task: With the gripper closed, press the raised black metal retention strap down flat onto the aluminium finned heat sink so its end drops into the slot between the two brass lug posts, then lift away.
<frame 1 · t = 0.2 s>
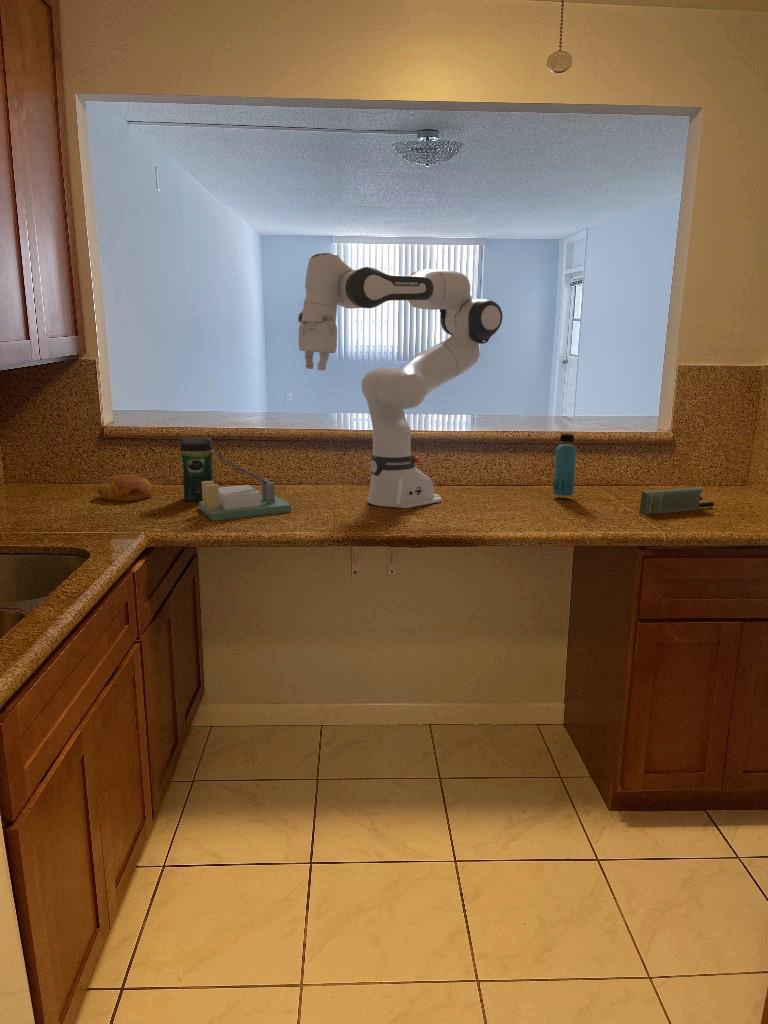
hand: (315, 369, 186), 39 cm above the countertop, fingers open, 8 cm apart
croissant: (127, 498, 209), on the countertop
retention strap: (243, 470, 192), point 11 cm above the countertop, hinge at 32.0°
beverage bottle: (562, 499, 213), on the countertop
coffee jar: (200, 499, 208), on the countertop
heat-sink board: (244, 510, 195), on the countertop
handheld radio: (677, 511, 200), on the countertop
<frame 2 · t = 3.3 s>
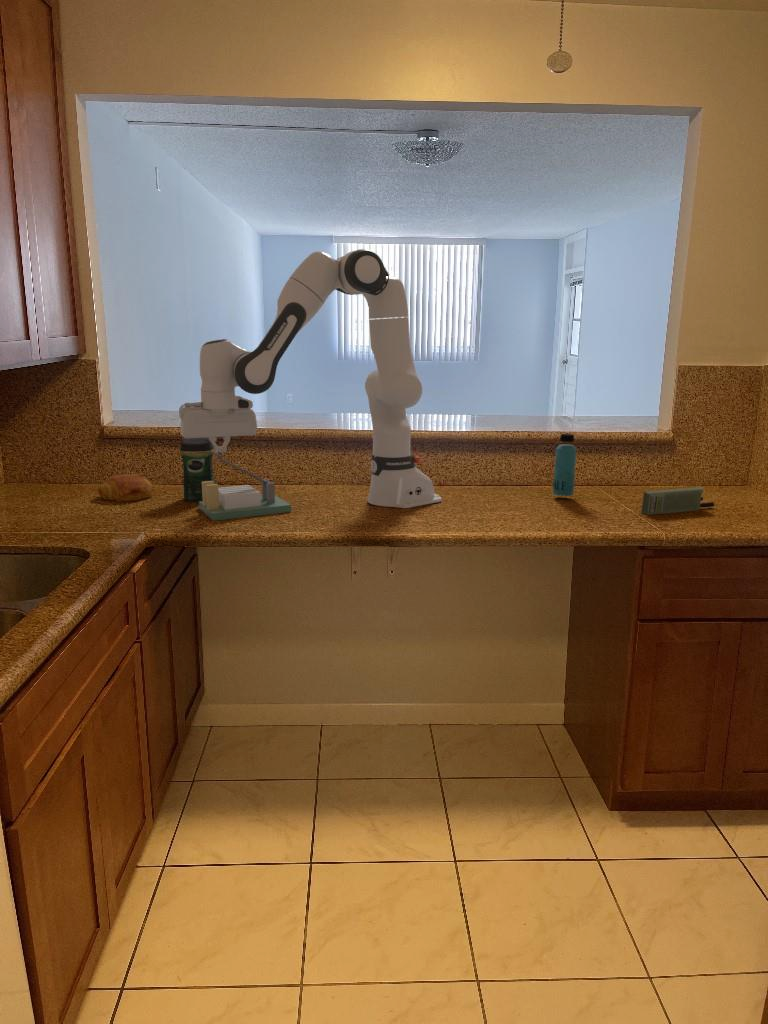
hand: (220, 453, 188), 17 cm above the countertop, fingers closed
retention strap: (243, 470, 192), point 11 cm above the countertop, hinge at 31.3°, touching gripper
everything else where it was.
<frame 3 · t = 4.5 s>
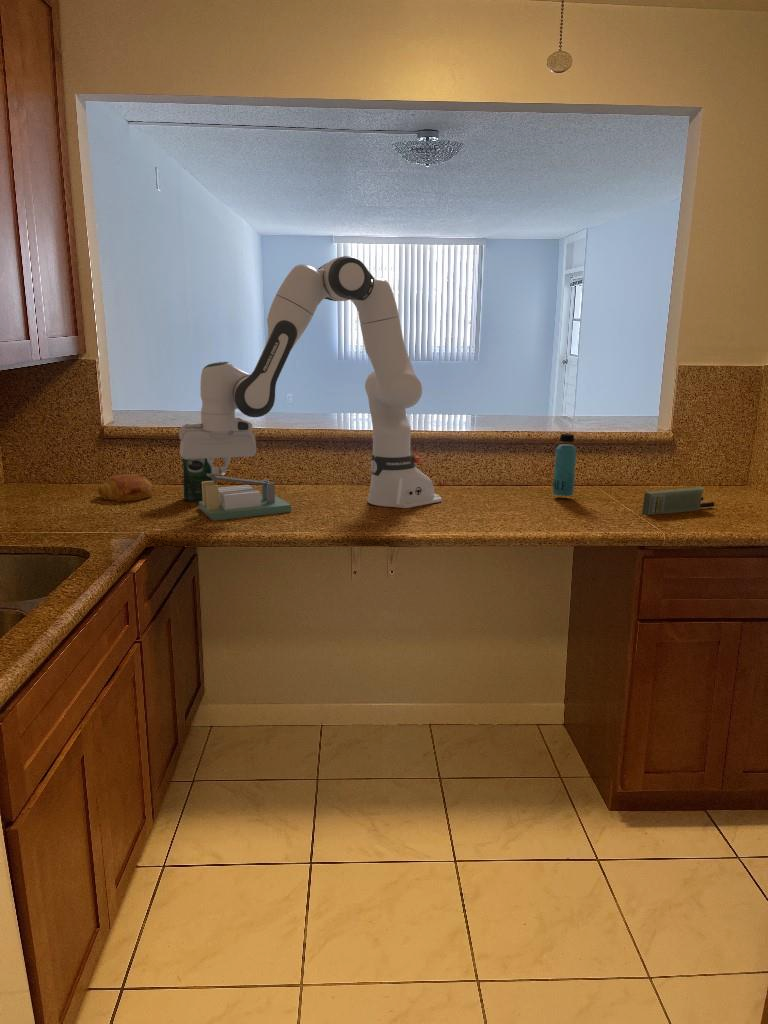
hand: (219, 474, 189), 11 cm above the countertop, fingers closed
retention strap: (239, 480, 192), point 9 cm above the countertop, hinge at 11.3°, touching gripper
everything else where it was.
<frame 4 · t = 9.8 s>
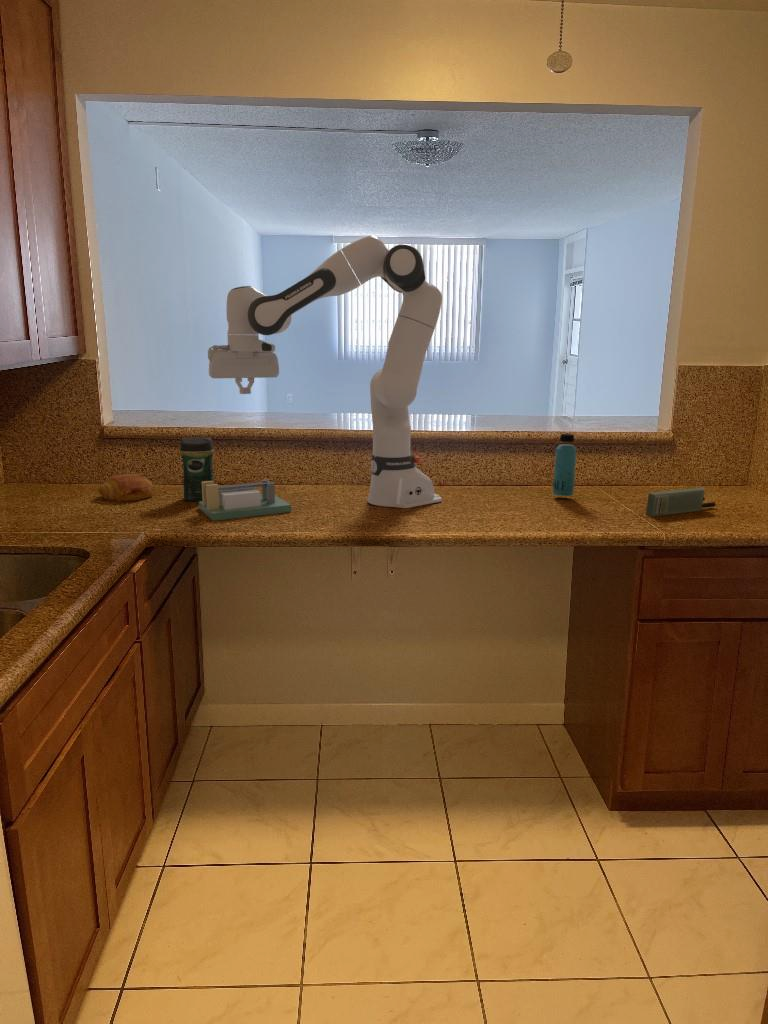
hand: (245, 393, 203), 31 cm above the countertop, fingers closed
retention strap: (239, 486, 193), point 7 cm above the countertop, hinge at -0.1°
at the end: retention strap at +0° (first picture: +32°); coffee jar moved 0.2 cm from its start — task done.
